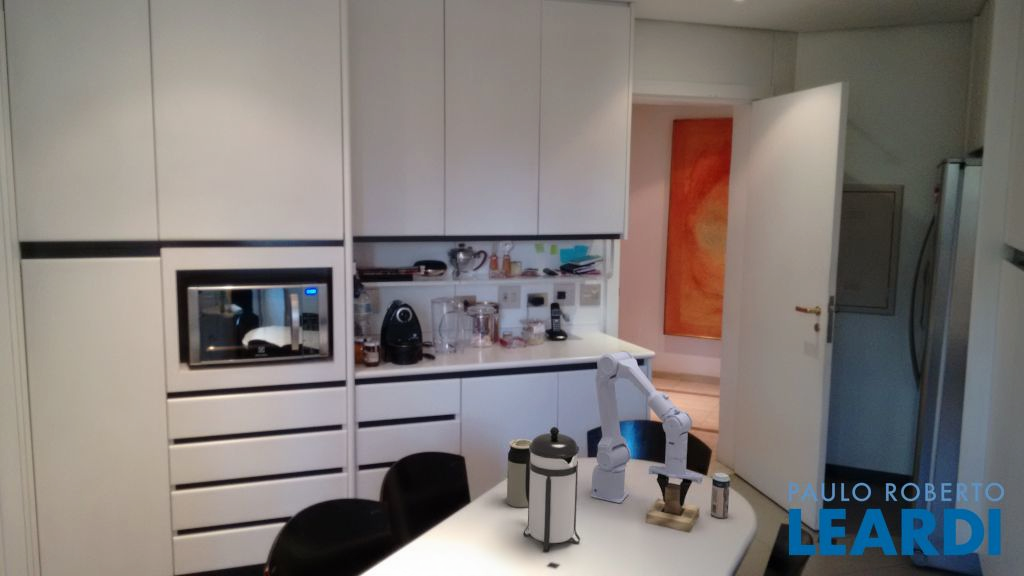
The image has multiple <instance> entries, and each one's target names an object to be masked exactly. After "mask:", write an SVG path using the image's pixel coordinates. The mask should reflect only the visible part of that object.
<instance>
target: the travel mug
mask: <svg viewBox="0 0 1024 576" xmlns="http://www.w3.org/2000/svg"><path fill="white" fill-rule="evenodd" d="M532 441H533V440H530V439H525V438H521V439H520V438H518V439H513V440H510V441H509V442H508V445H509V448H510V449H509V451H508V453H507V477H506V478H507V480H506V481H507V482H506V483H507V484H506V503H507V504H508V505H510V506H512V507H514V508H521V509H522V508H528V501H527V498H526V490H525V483H526V460H527V456H528V454H529V452H530V450H529V445H530V444H531V443H532Z"/></svg>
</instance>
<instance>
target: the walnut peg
mask: <svg viewBox="0 0 1024 576" xmlns="http://www.w3.org/2000/svg"><path fill="white" fill-rule="evenodd" d="M680 497H681V487H680V484H677V483H673V482H669V483H668V485H667V486H666V487H665V507H664V512H668V513H673V514H677V515H679V513H680V512H681V510H682V506H680Z"/></svg>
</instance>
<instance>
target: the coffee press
mask: <svg viewBox="0 0 1024 576" xmlns="http://www.w3.org/2000/svg"><path fill="white" fill-rule="evenodd" d="M549 432H550V433H542V434H540V435H537V436H535V437H534V438H533V439H532V440H531V441H532V443H531V444H530V445H529V450H530V452H529V454H528V456H527V460H526V483H525V490H526V498H527V501H528V507H527V512H528V513H527V526H526V528H525V529H524V530H523V533H522V534H523V537H526V538H527V537H530V535H531V537H533V538H534V539H536V540H537V541H540V542H543V546H542V550H543V551H542V552H547V553H549V551H550V547H551V544H559V543H564V542H566V541H568V540H571V541H572V542H573V544H575V545H577V544H579V543H580V541H581V538H580V536H579V535H578V532H577V501H578V476H579V475H578V473H579V472H578V471H579V466H578V465H579V462H578V454H579V452H580V446H579V445H578V443H577V442H576V441H575V439H574V438H572V437H571V436H569V435H567V434H563V433H560V430H559V428H558V427H555V426H553V427H551V428H550V430H549ZM527 529H528V533H526V531H527ZM573 536H575V537H576V539H577V540H575V538H574V537H573Z"/></svg>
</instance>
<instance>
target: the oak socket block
mask: <svg viewBox="0 0 1024 576" xmlns="http://www.w3.org/2000/svg"><path fill="white" fill-rule="evenodd" d="M664 507H665V502H663V498H657V499H655V502H654V503H653V504H652V505H651V507H650V508H649V510H648V511H647V512H646V513H645V514H646V515H645V523H648V524H652V525H656V526H661V527H665V528H670V529H674V530H678V531H683V532H686V533H690V532H691V530H692V528H693V527H694V525H695V523H696V522H697V520H698V518H699V517H700V507H701V506H697V505H692V504H687V503H684V505H683V506H682V510H681V512H680V513H679V515H677V514H673V513H668V512H664Z"/></svg>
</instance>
